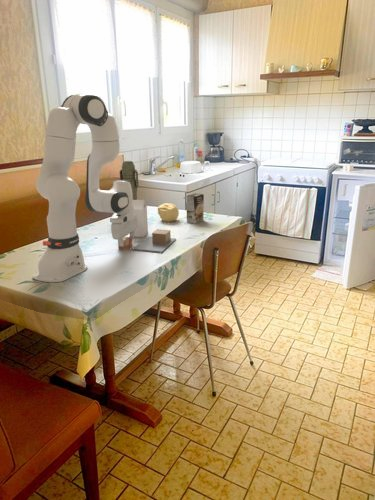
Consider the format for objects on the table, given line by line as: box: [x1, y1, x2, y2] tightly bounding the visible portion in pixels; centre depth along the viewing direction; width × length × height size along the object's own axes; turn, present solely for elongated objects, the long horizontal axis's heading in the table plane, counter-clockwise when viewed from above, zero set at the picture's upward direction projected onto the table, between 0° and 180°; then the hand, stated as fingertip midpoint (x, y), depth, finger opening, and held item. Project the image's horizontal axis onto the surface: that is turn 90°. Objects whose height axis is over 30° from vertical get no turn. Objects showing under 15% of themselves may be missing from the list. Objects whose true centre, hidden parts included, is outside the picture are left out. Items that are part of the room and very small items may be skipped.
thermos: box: [119, 160, 139, 200], centre depth 226 cm, size 9×12×35 cm
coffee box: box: [186, 193, 205, 225], centre depth 223 cm, size 9×6×16 cm
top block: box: [117, 236, 134, 251], centre depth 181 cm, size 5×5×5 cm
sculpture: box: [157, 202, 180, 223], centre depth 227 cm, size 12×12×11 cm
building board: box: [131, 228, 177, 254], centre depth 185 cm, size 20×15×6 cm
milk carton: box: [132, 199, 149, 238], centre depth 198 cm, size 7×7×19 cm
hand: (127, 242), depth 181 cm, fingers open, 8 cm apart
